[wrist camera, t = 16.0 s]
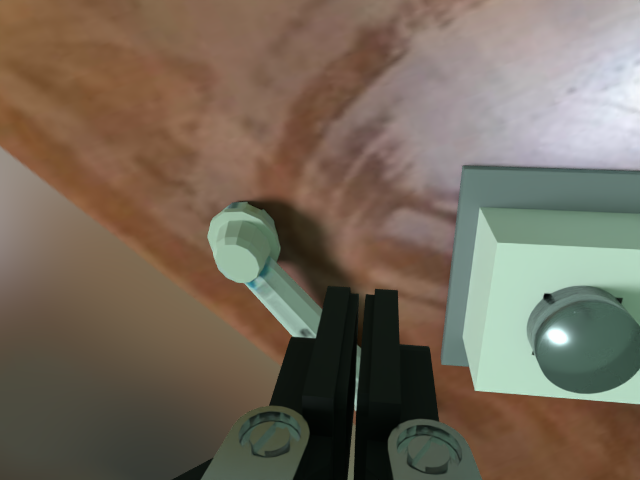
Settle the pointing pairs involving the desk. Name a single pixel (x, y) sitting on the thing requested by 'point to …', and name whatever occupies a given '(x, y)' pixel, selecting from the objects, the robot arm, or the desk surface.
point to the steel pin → (584, 340)
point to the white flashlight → (263, 268)
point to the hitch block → (536, 266)
